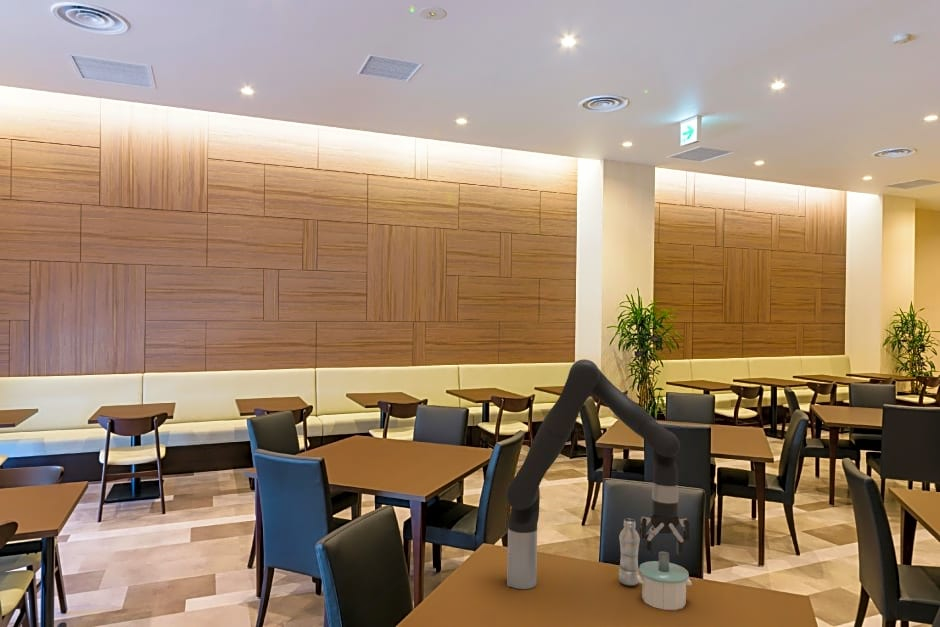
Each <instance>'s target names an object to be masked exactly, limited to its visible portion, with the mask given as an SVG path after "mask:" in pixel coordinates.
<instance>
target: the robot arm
mask: <svg viewBox="0 0 940 627" xmlns="http://www.w3.org/2000/svg"><path fill="white" fill-rule="evenodd" d="M590 395H593V396H595V397H596V398H598V399H599V400H600V401H601V402H602V403H603V404H604V405H605V406H607V408H609V410H610V411H611V412H612V413H613V414H614V416H616V417H617V418H618V419H619V420H620V421H621V422H622V423H624V425H625V426H627V427H628V428H629V429H630V430H631V431H632V432H634V433H635V434H636V435H638V436H639V437H641V438H642V439H643V440H644V441H645V442H646V443H647V444H648V445H649V447H651V448H652V451H653V452H652V453H653V454H652V455H653V465H654V466H653V478H652V479H653V483H652V489H651V490H652V491H651V516H650V517H646V516H644V515H641V516H640V523H639V532H638V534H639V537H641V539H645V546H644V547H645V550H646V552H647V553H648V554H652V551H653V550H652V548H653V546H652V545H653V544H652V543H653V541H652V539H653V538H654V537H656V535H657V534H658V533H659V534H668V535H671V534H672V533H673V535H674V537H676V539H677V540H675V541H676V542H675V543H676V544H675V545H676V546H675V547H676V548H675V550H676V551H675V552H676V554H677V555H679V556H680V555H681V553H683V550H684V548H683V547H684V546H683V545H684V542H686V541H687V542H689V541H690V539H691V536H690V532H691V531H690V521H689V520H688V518H686V517H683V518H679V485H678V484H679V470H678V465H677V454H679V453H680V450H681V443H680V440H679V438H678V437H677V436H676V435H675V434H674V433H673V431H672V432H671V431H669V430H668V429H666V428H665V427H664V426H663V425H661V424H660V423H659V422H658V421H657V420H656V419H655V418H654V417H653V416H652V415H651V414H650V413H648V412H647V411H646V410H645V409H644V408H642V407H641V406H640V405H639V404H638V403H636V402H635V401H634V400H633V399H631V398H630V397H629V396H627V395H626V394H625V393H624V392H623V391H621V390H620V389H619V388H618V387H617V386H616V385H614V384H613V383H612V382H611V381H610V380H609V379H608V378H607V376H606V375H605V374H603V372H602V371H601V370H600V369H599V367H598V365H596V363H595V362H594V361H591V360H590V359H584V358H583V359H579V360H576V361H575V362H574V363H573V364H572V365H571V367H570V369H569V372H568V374H567V378H566V381H565V384H564V386H563V388H562V391H561V393H560V395H559V397H558V399H557V400H556V401H555V403H554V404H553V406H552V407H551V409H550V410H549V411H548V413H547V414H546V416H545V417H544V419H543V420H542V422H541V424H540V427H539V428H538V430H537V432H536V434H535V436H534V439H533V441H532V442H531V444H530V447H529V449H528V452H527V455H526V457H525V459H524V461H523V463H522V465H521V467H520V468H519V470H518V471H517V473H516V474H515V476H514V477H513V479H512V481H510V483H509V484H508V486H507V488H506V494H505V496H506V497H505V498H506V501H507V503H508V505H509V506H510V511H509V512H510V514H509V516H508V520H507V550H506V551H507V553H506V556H507V557H506V562H507V563H506V587H511V588H513V589H518V590H529V589H530V590H531V589H533V588H535V587H536V586H537V580H538V579H537V577H538V576H537V573H538V572H537V570H538V569H537V566H538V565H537V564H538V562H537V561H538V557H537V556H538V555H537V554H538V522H539V518H540V499H541V498H540V497H541V493H540V484H541V482H542V481H543V478H544V477H545V475H546V473H547V472H548V470H549V469H550V468H551V467H552V465H553V464H554V462H555V461H557V458H558V457H559V455H560V454H561V452H562V450H563V449H564V447H565V446H566V444H567V442H568V440H569V438H570V436H571V433H573V432H572V431H573V429H574V427H575V424H576V422H577V419H578V416H579V414H580V411H581V410H582V409H583V406H584V404H585V403H586V401H587V400H588V398H589V397H590ZM649 523H651V525H652V526H651V527H650V528H649V530H648V531H647V526H648V525H649ZM679 525H681V527H682V535H681V534H680V532H679V531H678V530H677V527H679ZM646 532H647V533H646Z"/></svg>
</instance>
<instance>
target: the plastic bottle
mask: <svg viewBox="0 0 940 627" xmlns="http://www.w3.org/2000/svg"><path fill="white" fill-rule="evenodd" d="M636 526H637V525H636V520H635V519H633V518H624V519H623V529H621V531H620V533H619V545H620V560H619V561H620V563H619V569H618V580H619V582H620V583H621V584H623V585H625V586H631V587H632V586H637V585H638V584H639V581H638V579H637V575H639V576H640V572H639V560H638V559H639V557H638V556H639V549H640V548H639V546H640V541H641V540H640V539H641V538H640V537H641V536H640V534H639V532H638V531H637V530H636Z"/></svg>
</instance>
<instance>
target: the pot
mask: <svg viewBox="0 0 940 627" xmlns="http://www.w3.org/2000/svg"><path fill="white" fill-rule="evenodd" d="M637 579H638V581H639V582H638V584H642V585H641V587H642V588H641V590H642V591H641V599H642V600H643V602H644V603H646V604H647V605H649V606H651V607H652V608H657V609H660V610H664V611H666V610H667V611H676V610H680V609H681V610H682V609H684V607H685V605H686V602H687V601H686V600H687V599H686V598H687V586H692V585H693V584H692V583H693V582H692V581H691V580H690V578H689V577H688V580H686V581H685V582H681V583H662V582H657V581H653V580H650V579H648V578H646V577H644V576H643V575H640V574H639V575H637Z"/></svg>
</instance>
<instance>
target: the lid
mask: <svg viewBox="0 0 940 627" xmlns="http://www.w3.org/2000/svg"><path fill="white" fill-rule="evenodd" d="M638 570H639V574H640V576H642V575H643V576H644V577H646V578H648V579H650V580H653V581H657V582H662V583H681V582H685V581H686V580H688V578H689V577H690V576H689V571H688V570H687V569H686V568H684V567H683V566H681V565H678V564H676V563H673V562H670V553H669V552H667V551H665V550H664V551H659V552H658V560H653V561H652V560H651V561H645V562H643V563H641V564H639V565H638Z"/></svg>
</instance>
